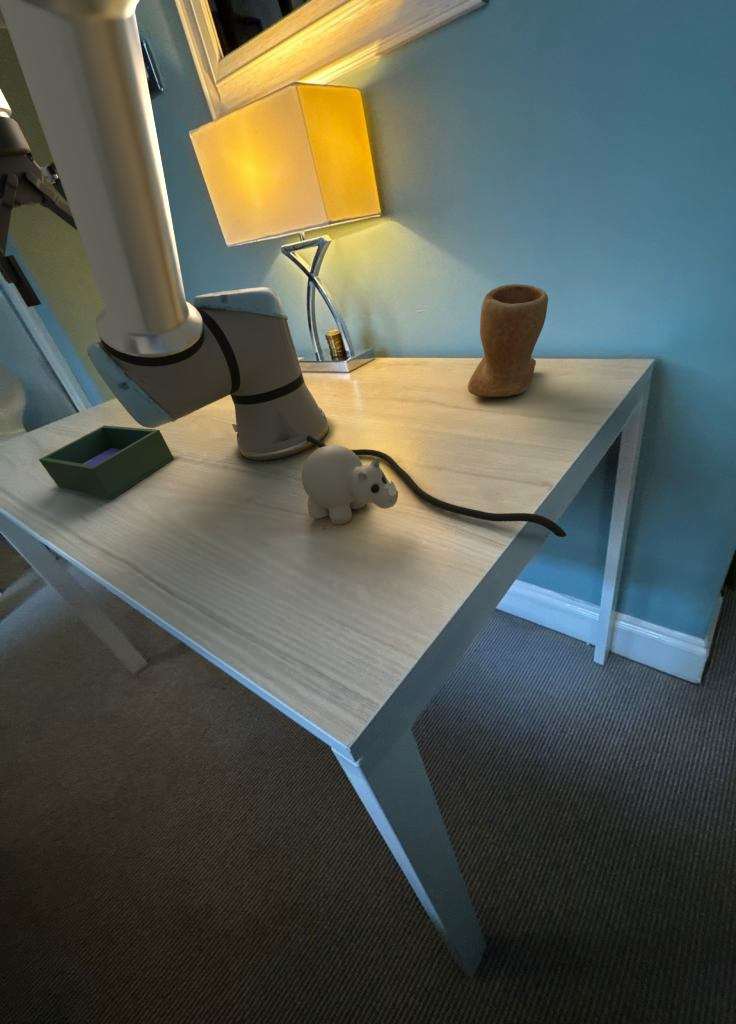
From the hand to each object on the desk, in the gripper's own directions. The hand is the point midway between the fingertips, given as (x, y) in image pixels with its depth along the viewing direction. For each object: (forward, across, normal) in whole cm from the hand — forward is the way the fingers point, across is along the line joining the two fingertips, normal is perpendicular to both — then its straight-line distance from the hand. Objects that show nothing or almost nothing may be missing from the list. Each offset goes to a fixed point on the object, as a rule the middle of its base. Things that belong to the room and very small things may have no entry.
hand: (75, 294), depth 71 cm
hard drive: (+26, +11, +4) cm, 29 cm away
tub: (+26, +11, +4) cm, 29 cm away
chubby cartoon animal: (+27, +12, +54) cm, 61 cm away
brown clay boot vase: (+27, -27, +61) cm, 72 cm away
